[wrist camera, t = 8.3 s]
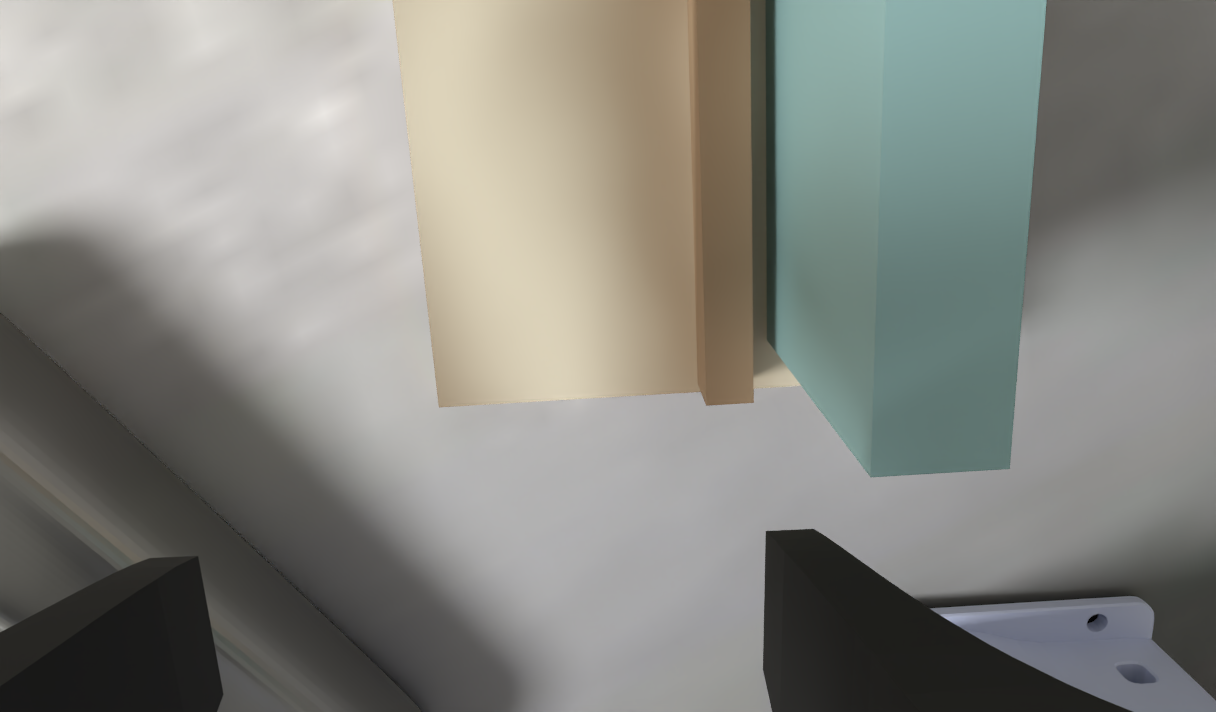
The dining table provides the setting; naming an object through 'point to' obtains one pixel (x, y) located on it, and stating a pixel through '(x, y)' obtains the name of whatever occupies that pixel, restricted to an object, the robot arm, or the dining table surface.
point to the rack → (591, 196)
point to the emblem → (153, 545)
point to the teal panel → (902, 219)
